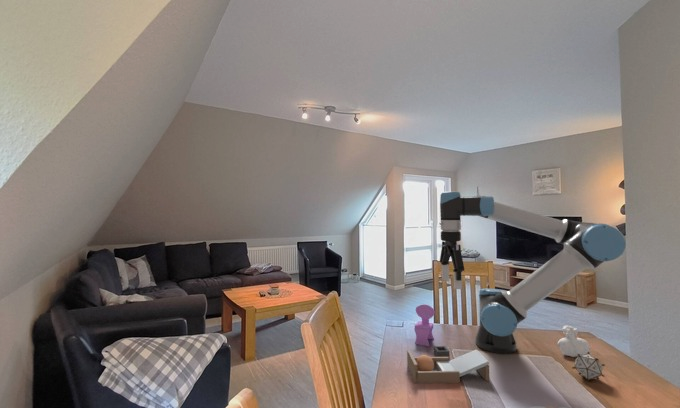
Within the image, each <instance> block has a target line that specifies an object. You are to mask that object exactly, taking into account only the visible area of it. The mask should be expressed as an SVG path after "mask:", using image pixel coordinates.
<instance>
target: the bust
mask: <svg viewBox="0 0 680 408" xmlns="http://www.w3.org/2000/svg"><path fill="white" fill-rule="evenodd" d="M578 330H579V329H578V328H576V327H573V326H570V325H563V326H562V328H561V331H562V333H563V334H564V335H565V337H562V338H560V339H559V340H558V342H557V343H556V344H557V346H558V348H559V349H560V351H561V354H562V355H564V356H569V357H572V358H573V357H575V358H577V357H578V354H579V355H580V356H581V355H585V354H588V352H589V353H590V351H591V348H590V347H591V346H590V343H589V342H588V341H587V340H586V339H583V338H580V337H576V336H577V335H579V331H578Z"/></svg>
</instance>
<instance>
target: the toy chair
mask: <svg viewBox="0 0 680 408" xmlns="http://www.w3.org/2000/svg"><path fill="white" fill-rule="evenodd" d="M415 313H416V314H417V316H418V317H419V318H421V320H418V321H417V322H416V324H414V332H415V337H416V339H415V341H414V344H416V345H421V346H426V347H431V345H430V343H429V340H435V337H434V335H433V329H434V323H433V322H430V319H432V318H433V317H434V316H435V314H436V311H435V309H434V308H433V307H432V306H431V305H429V304H420V305H417V306H416V307H415ZM428 339H429V340H428Z"/></svg>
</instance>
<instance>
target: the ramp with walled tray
mask: <svg viewBox="0 0 680 408" xmlns="http://www.w3.org/2000/svg"><path fill="white" fill-rule="evenodd" d="M406 353H407V354H406V355H407V357H406V359H407V361H406V362H407V369H408V372H409V373H410V375H411V379H412V380H413V383H414V384H436V383H437V384H445V383H446V384H448V383H449V384H451V383H452V384H453V383H454V384H455V383H457V384H458V383H461V382H460V381H461V379H460V377H462V376H463V377H464V376H465V375H468V374H470V373H472V372H475V371H477V372H478V374H479V375H480V377H482V378H483V379H484V380H485V381H491V380H490V378H491V377H490V362H489V360H487V358H486V357H485V356H484V355H483V354H481V352H480V351H479V350H478V349H474V350H472V351H469V352H467V353H465V354H462V355H459V356H456V357H455V358H453V359H451V360H450V356H449V357H436V356H429V357H430V358H431V359H432V360H433V363H434V369H433V371H418V364H417V362H416V360H417V358H418V357H419V356H414V355H413V353H412V351H411V350H410V349H407V350H406Z"/></svg>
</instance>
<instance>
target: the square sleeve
mask: <svg viewBox="0 0 680 408" xmlns="http://www.w3.org/2000/svg"><path fill="white" fill-rule="evenodd" d="M433 355H434V356H435V357H449V358H450V350H449V349H448V348H447V346H446V345H445V346H444V345H442V346H441V345H437V346H435V345H434V346H433Z"/></svg>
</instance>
